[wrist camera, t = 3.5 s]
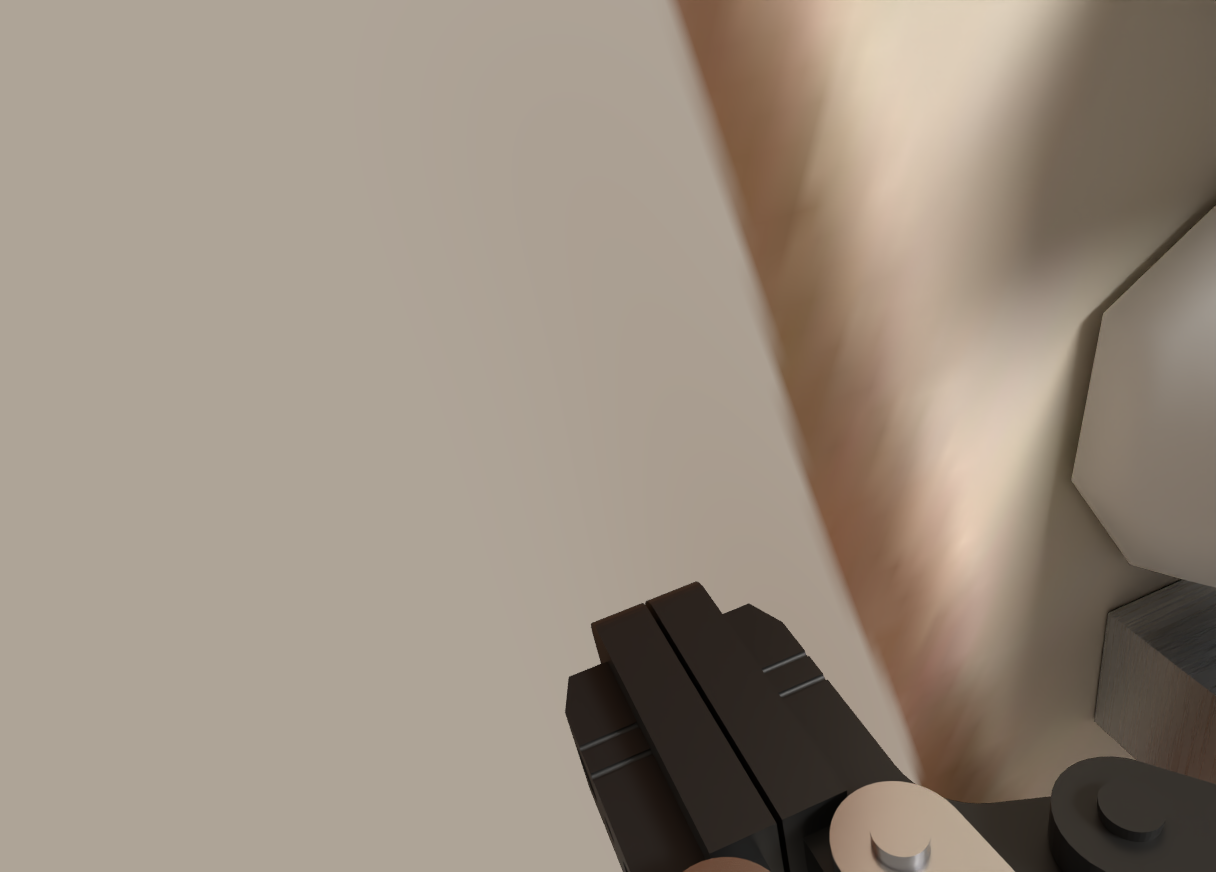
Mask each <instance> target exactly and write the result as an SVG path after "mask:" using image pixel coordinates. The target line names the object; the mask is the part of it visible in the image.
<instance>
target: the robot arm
mask: <svg viewBox="0 0 1216 872" xmlns="http://www.w3.org/2000/svg"><path fill="white" fill-rule="evenodd" d="M591 628H592V632H593V636H594V640H595V643H596V647H597V650H598V654H599V658H600V661H601V664H600V665H597V666H595V667H592V668H590V669H587V670H585V671H583V672H580V673H577V674H575V675H573V676H570V677H569V681H568V690H567V700H566V710H565V713H566V716H567V720H568V723H569V725H570V729H571V732H572V735H573V738H574V741H575V744H576V747H577V750H578V754H579V756H580V760H581V763H582V766H583V769H584V772H585V775H586V778H587V781H588V785H589V787H590V790H591V793H592V795H593V798H594V800H595V803H596V805H597V808H598V810H599V813H600V815H601V818H602V820H603V823H604V824H605V827H606V830H607V833H608V835H609V838H610V840H611V843H612V845H613V848H614V850H615V852H616V855H617V858H618V860H619V863H620V865H621V867H622V870H623V872H1216V784H1213V783H1210V782H1207V781H1203V780H1200V779H1197V778H1193V777H1190V776H1187V775H1183V774H1180V773H1177V772H1173V771H1170V770H1167V769H1163V768H1160V767H1157V766H1153V765H1150V764H1147V763H1143V762H1140V761H1136V760H1132V759H1127V758H1120V757H1096V758H1090V759H1086V760H1083V761H1080V762H1077V763H1076V764H1074V765H1072V766H1070V767H1068V768H1067V769H1066V770H1065V771H1064V772H1063V773H1062V774H1061V775H1060V776H1059V778H1058V779H1057V780H1056V782H1055V784H1054V787H1053V789H1052V795H1051V797H1042V798H1033V799H1024V800H1015V801H1006V802H996V803H982V804H975V803H963V802H958V801H953V800H949V799H946V798H943V797H941V796H940V795H939V794H937V793H935V792H933V791H931V790H929V789H927V788H925V787H922V786H919V785H916V784H915V783H913V782H912V781H911V780H909V779H908V778H907V777H906V776H905V775H903V774H902V772H901V771H900V770H899V769H898V768H897V767H896V766H895V765H894V763H893V762H892V761H891V759H890V758H889V757H888V756H887V754H886V753H885V752H884V751H883V749H881V747H880V746H879V744H878V743H877V742H876V740H875V739H874V738H873V737H872V736H871V734H870V733H869V732H868V730H867V729H866V728H865V727H864V725H863V724H862V723H861V721H860V720H859V719H858V718H857V716H856V715H855V714H854V713H853V711H852V710H851V709H850V707H849V706H848V705H847V704H846V702H845V701H844V700H843V699H842V697H841V696H840V695H839V693H838V692H837V691H836V690H835V689H834V687H833V686H832V685H831V683H830V682H829V681H828V680H825V678H824V676H823V673H822V672H821V671H820V669H819V668H818V667H817V666H816V664H815V663H814V662H813V660H812V659H811V658H810V657H809V656H808V657H807V655H806V653H805V650H804V649H803V648H802V647H801V645H800V644H799V643H798V641H797V640H796V639H795V638H794V636H793V635H792V634H791V633H790V631H789V630H788V629H787V628H786V626H785V625H784V624H783V622H781V621H779V620H777V619H776V618H774V617H772V616H770V615H769V614H767V613H765V612H763V611H761V610H760V609H758V608H756V607H754V606H752V605H751V604H747V605H744V606H742V607H739V608H737V609H734V610H732V611H729V612H727V613H724V614H722V613H721V611H720V610H719V608H718V607H717V606H716V604H715V603H714V601H713V600H712V599H711V597H710V596H709V594H708V593H707V591H706V590H705V589H704V587H703V586H702V585H701V584H700V583H699V582H693V583H691V584H689V585H686V586H683V587H681V588H678V589H676V590H673V591H671V592H668V593H666V594H663V595H661V596H658V597H656V598H653V599H651V600H648V601H646V603H645V604H643V603H642V604H639V605H636V606H634V607H631V608H629V609H626V610H624V611H621V612H619V613H616V614H613V615H611V616H608V617H606V618H603V619H601V620H598V621H596V622H593V623H592V624H591Z"/></svg>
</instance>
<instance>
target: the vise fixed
mask: <svg viewBox="0 0 1216 872" xmlns="http://www.w3.org/2000/svg"><path fill="white" fill-rule="evenodd" d="M1094 722H1096V723H1097V724H1098V725H1099V726H1100V727H1101V728H1102V729H1103V730H1104V731H1105V732H1107V733H1108V734H1109V735H1110V736H1111V737H1112V738H1113V739H1114V740H1115V741H1116V742H1117V743H1119V744H1120V745H1121V746H1122V747H1123V748H1124V749H1125V750H1126V751H1127V752H1128V753H1129V754H1131V755H1132V756H1133V757H1134V758H1135V759H1136V760H1137V761H1140V762H1143V763H1147V764H1150V765H1153V766H1157V767H1160V768H1163V769H1167V770H1170V771H1173V772H1177V773H1180V774H1183V775H1187V776H1190V777H1193V778H1197V779H1200V780H1203V781H1207V782H1210V783H1213V784H1216V587H1211V586H1207V585H1203V584H1199V583H1195V582H1191V581H1187V580H1181V581H1179V582H1176V583H1174V584H1172V585H1170V586H1167V587H1165V588H1163V589H1161V590H1158V591H1156V592H1154V593H1152V594H1149V595H1147V596H1145V597H1143V598H1141V599H1138V600H1136V601H1134V602H1132V603H1129V604H1127V605H1125V606H1123V607H1120V608H1118V609H1116V610H1114V611H1111V612H1109V613H1108V618H1107V626H1106V634H1105V642H1104V649H1103V657H1102V665H1101V673H1100V680H1099V688H1098V696H1097V704H1096V711H1095V719H1094Z"/></svg>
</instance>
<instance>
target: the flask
mask: <svg viewBox="0 0 1216 872" xmlns="http://www.w3.org/2000/svg"><path fill="white" fill-rule="evenodd" d="M1071 481H1072V482H1073V484H1074V485H1075V487H1076V488H1077V489H1078V491H1079V492H1080V494H1081V495H1082V497H1083V498H1084V499H1085V501H1086V502H1087V504H1088V505H1089V507H1090V508H1091V509H1092V511H1093V512H1094V514H1095V515H1096V517H1097V518H1098V519H1099V521H1100V522H1101V524H1102V525H1103V527H1104V528H1105V529H1106V531H1107V532H1108V534H1109V535H1110V537H1111V538H1112V539H1113V541H1114V542H1115V544H1116V545H1117V547H1118V548H1119V549H1120V551H1121V552H1122V554H1123V555H1124V557H1125V558H1126V559H1127V561H1128V562H1129V564H1130V565H1133V566H1136V567H1140V568H1143V569H1147V570H1151V571H1154V572H1158V573H1162V574H1165V575H1169V576H1172V577H1176V578H1180V579H1183V580H1187V581H1191V582H1195V583H1199V584H1203V585H1207V586H1211V587H1216V205H1215V206H1214V207H1213V208H1212V209H1211V210H1210V211H1209V212H1208V213H1207V214H1206V215H1205V216H1204V217H1203V218H1202V219H1201V220H1200V221H1199V222H1198V223H1197V224H1195V225H1194V226H1193V227H1192V228H1191V229H1190V230H1189V231H1188V232H1187V233H1186V234H1185V235H1184V236H1183V237H1182V238H1181V239H1180V240H1179V241H1178V242H1177V243H1176V244H1175V245H1174V246H1173V247H1171V248H1170V249H1169V250H1168V251H1167V252H1166V253H1165V254H1164V255H1163V256H1162V257H1161V258H1160V259H1159V260H1158V261H1157V262H1156V263H1155V264H1154V265H1153V266H1152V267H1151V268H1150V269H1149V270H1147V271H1146V272H1145V273H1144V274H1143V275H1142V276H1141V277H1140V278H1139V279H1138V280H1137V281H1136V282H1135V283H1134V284H1133V285H1132V286H1131V287H1130V288H1129V289H1128V290H1127V291H1126V292H1125V293H1124V294H1122V295H1121V296H1120V297H1119V298H1118V299H1117V300H1116V301H1115V302H1114V303H1113V304H1112V305H1111V306H1110V307H1109V308H1108V309H1107V310H1106V311H1105V312H1104V313H1103V317H1102V322H1101V327H1100V332H1099V338H1098V343H1097V348H1096V353H1095V359H1094V364H1093V369H1092V374H1091V380H1090V385H1089V390H1088V395H1087V400H1086V406H1085V411H1084V416H1083V421H1082V427H1081V432H1080V437H1079V442H1078V448H1077V453H1076V458H1075V463H1074V468H1073V474H1072V479H1071Z"/></svg>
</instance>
